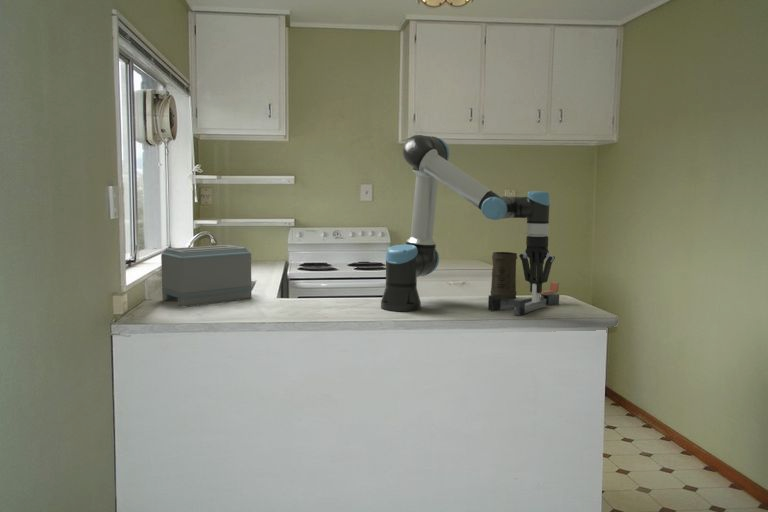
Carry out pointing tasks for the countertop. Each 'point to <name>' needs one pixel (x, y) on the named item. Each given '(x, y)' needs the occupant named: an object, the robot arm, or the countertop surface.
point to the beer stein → (504, 275)
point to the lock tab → (552, 288)
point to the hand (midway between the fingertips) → (535, 301)
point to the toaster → (206, 274)
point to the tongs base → (496, 304)
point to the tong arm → (527, 306)
